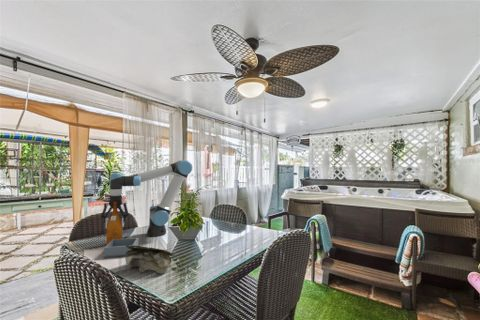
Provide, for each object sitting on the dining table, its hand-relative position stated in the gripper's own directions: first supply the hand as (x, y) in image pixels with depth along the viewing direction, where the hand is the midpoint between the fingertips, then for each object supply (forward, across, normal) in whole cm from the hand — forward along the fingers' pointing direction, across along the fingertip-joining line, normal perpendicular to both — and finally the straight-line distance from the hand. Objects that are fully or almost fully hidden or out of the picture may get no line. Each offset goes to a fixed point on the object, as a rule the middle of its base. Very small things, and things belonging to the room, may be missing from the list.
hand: (114, 227), depth 150 cm
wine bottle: (+12, 0, 0) cm, 12 cm away
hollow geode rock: (+13, -28, +44) cm, 53 cm away
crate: (+12, -9, +16) cm, 22 cm away
